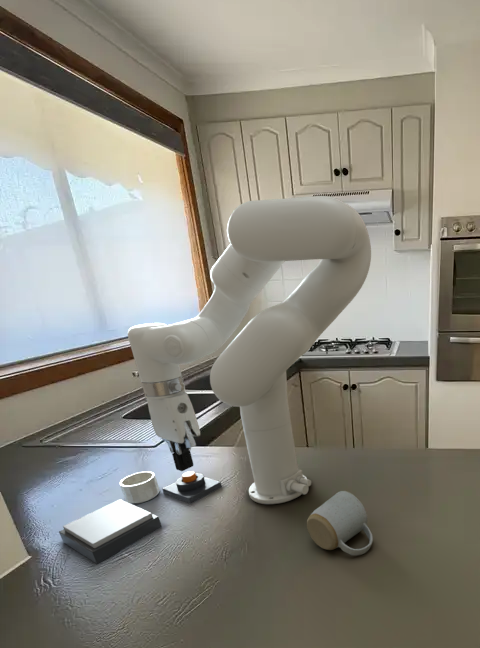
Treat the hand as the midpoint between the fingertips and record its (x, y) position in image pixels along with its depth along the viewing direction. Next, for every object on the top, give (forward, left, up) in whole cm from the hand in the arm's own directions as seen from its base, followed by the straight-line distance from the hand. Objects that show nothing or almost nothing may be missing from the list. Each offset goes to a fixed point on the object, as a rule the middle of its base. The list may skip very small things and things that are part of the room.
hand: (185, 467), depth 92 cm
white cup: (+8, +7, -6) cm, 12 cm away
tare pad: (0, 0, -6) cm, 6 cm away
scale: (-1, +18, -6) cm, 19 cm away
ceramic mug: (-42, -1, -6) cm, 43 cm away
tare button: (0, 0, -3) cm, 3 cm away
